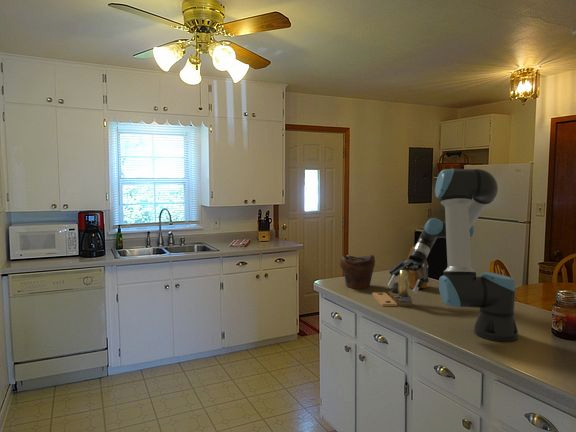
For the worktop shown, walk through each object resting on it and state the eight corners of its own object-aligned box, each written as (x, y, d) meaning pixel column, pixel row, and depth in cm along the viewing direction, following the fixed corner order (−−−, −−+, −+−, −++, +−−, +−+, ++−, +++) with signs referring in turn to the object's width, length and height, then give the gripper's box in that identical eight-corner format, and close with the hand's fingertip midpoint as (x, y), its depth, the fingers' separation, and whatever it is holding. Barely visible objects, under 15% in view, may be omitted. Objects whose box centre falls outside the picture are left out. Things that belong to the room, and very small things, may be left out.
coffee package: (418, 283, 242) (419, 245, 240) (429, 289, 230) (430, 249, 228) (401, 284, 240) (403, 246, 239) (412, 290, 228) (413, 249, 226)
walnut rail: (411, 306, 199) (412, 291, 198) (395, 306, 198) (395, 291, 198) (399, 294, 219) (399, 281, 218) (384, 294, 218) (384, 281, 218)
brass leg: (411, 301, 199) (412, 271, 197) (395, 301, 198) (396, 271, 197) (406, 297, 204) (407, 269, 203) (391, 297, 204) (392, 269, 203)
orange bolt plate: (397, 306, 198) (397, 303, 198) (382, 306, 198) (382, 303, 198) (385, 294, 218) (385, 292, 218) (372, 294, 218) (372, 292, 218)
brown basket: (333, 283, 240) (334, 252, 238) (362, 280, 248) (363, 250, 247) (350, 292, 224) (351, 258, 222) (381, 288, 232) (382, 256, 230)
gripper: (445, 262, 201) (428, 299, 192) (400, 255, 219) (382, 289, 211) (440, 253, 197) (422, 290, 188) (394, 246, 215) (376, 280, 207)
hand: (401, 289), depth 199 cm, fingers open, 13 cm apart
